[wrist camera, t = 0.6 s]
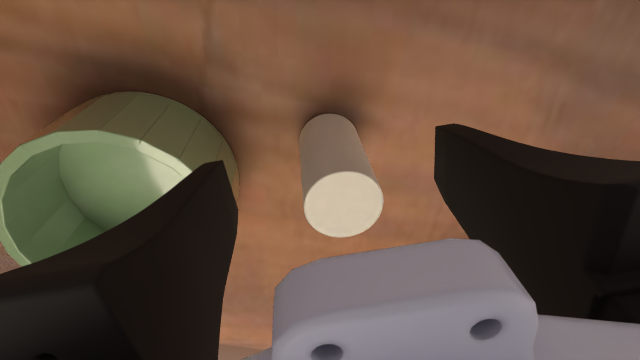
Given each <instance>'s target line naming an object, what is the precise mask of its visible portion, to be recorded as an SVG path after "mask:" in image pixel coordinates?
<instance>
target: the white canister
mask: <svg viewBox="0 0 640 360" xmlns="http://www.w3.org/2000/svg"><path fill="white" fill-rule="evenodd" d="M299 150H300V164H301V178H302V192H303V206H304V213H305V217H306V219H307V221H308V222H309V224H310V225H311V226H312V227H313V228H314V229H316V230H317V231H318V232H320V233H322V234H325V235H327V236H331V237H349V236H353V235H357V234H359V233H361V232H363V231H365V230H367V229H368V228H369V227H371V226H372V225H373V224H374V223H375V222H376V220H377V219H378V218H379V216H380V214H381V211H382V208H383V194H382V191H381V188H380V186H379V183H378V181H377V179H376V176H375V174H374V171H373V169H372V167H371V164H370V162H369V160H368V157H367V155H366V152H365V150H364V148H363V145H362V143H361V140H360V138H359V136H358V133H357V131H356V129H355V127H354V125H353V124H352V123H351V122H350V121H349V120H348V119H347V118H345V117H343V116H341V115H338V114H322V115H319V116H316V117H314V118H313V119H311V120H310V121H309V122H307V124H306V125H305V126H304V127H303V129H302V131H301V133H300V137H299Z"/></svg>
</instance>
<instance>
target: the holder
mask: <svg viewBox="0 0 640 360" xmlns="http://www.w3.org/2000/svg"><path fill="white" fill-rule="evenodd" d="M220 160H223V162H224V165H225V168H226V171H227V175H228V178H229V181H230V185H231V188H232V191H233V194H234V198H235V201H236V204H237V200H238V195H239V186H240V182H239V171H238V166H237V163H236V160H235V157H234V155H233V153H232V151H231V149H230V147H229V145H228V143H227V142H226V141H225V139H224V138H223V136H222V135H221V134H220V133H219V132H218V130H217V129H216V128H215V127H214V126H213V125H212V124H211V123H210V122H208V121H207V120H206V119H205V118H204V117H203V116H201V115H200V114H198V113H197V112H195V111H194V110H192V109H191V108H189V107H187V106H185V105H183V104H181V103H179V102H177V101H174V100H172V99H169V98H166V97H163V96H159V95H156V94H150V93H144V92H129V91H127V92H115V93H110V94H105V95H101V96H98V97H96V98H93V99H90V100H89V101H87V102H85V103H83V104H81V105H79V106H76V107H75V108H73V109H72V110H70V111H69V112H67V113H66V114H64V115H63V116H61V117H60V118H59V119H57V120H56V121H54V122H53V123H51V124H50V125H48V126H47V127H45V128H44V129H42V130H41V131H39V132H38V133H37V134H35V135H34V136H32V137H31V138H29V139H28V140H26V141H25V142H23V143H22V144H20V145H19V146H18V147H17V148H16V149H15V150H14V151H13V152H12V153H11V154H10V155H9V156H8V157H7V158H6V159H4V160H3V161H2V162H1V163H0V242H1V243H2V245H3V247H4V248H5V250H6V252H7V253H8V254H9V255H10V256H11V257H12V258H13V259H14V260H15V261H16V262H17V263H18V264H19V265H21V266H22V267H23V266H25V265H28V264H31V263H34V262H37V261H40V260H43V259H45V258H48V257H50V256H53V255H55V254H58V253H60V252H63V251H65V250H68V249H70V248H72V247H75V246H77V245H79V244H81V243H84V242H86V241H88V240H90V239H92V238H94V237H96V236H98V235H100V234H102V233H104V232H106V231H107V230H109V229H111V228H113V227H115V226H117V225H119V224H121V223H122V222H124V221H126V220H127V219H129V218H131V217H132V216H134V215H136V214H137V213H139V212H140V211H142V210H143V209H145V208H146V207H148V206H149V205H150V204H152V203H153V202H155V201H156V200H157V199H159V198H160V197H161V196H163V195H164V194H165V193H167V192H168V191H169V190H171V189H172V188H173V187H174V186H175V185H177V184H178V183H179V182H180V181H182V180H183V179H184V178H185V177H186V176H188V175H189V174H190V173H191V172H193V171H194V170H195V169H196V168H198V167H199V166H201V165H202V164H204V163H207V162H213V161H220Z"/></svg>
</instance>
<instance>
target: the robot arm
mask: <svg viewBox="0 0 640 360" xmlns="http://www.w3.org/2000/svg"><path fill="white" fill-rule="evenodd" d="M434 180H435V182H436V184H437V186H438V189H439V191H440V193H441V195H442V197H443V199H444V201H445V203H446V204H447V206H448V207H449V209H450V210H451V212H452V213H453V215H454V216H455V218H456V219H457V221H458V222H459V224H460V225H461V227H462V228H463V229H464V231H465V232H466V234H467V235H468V237H469V238H470V239H452V238H450V239H444V240H437V241H431V242H424V243H418V244H412V245H405V246H399V247H392V248H386V249H380V250H373V251H367V252H361V253H354V254H348V255H341V256H335V257H329V258H322V259H319V260H316V261H313V262H311V263H308V264H305V265H303V266H300V267H297V268H294V269H292V270H291V271H290V272H289V273H288V275H287V276H286V277H285V278H284V279H283V280H282V281H281V282H280V283H279V284H278V285H277V286H276V288H275V296H274V307H273V331H272V347H271V348H268V349H266V350H264V351H262V352H259V353H256V354H254V355H252V356H249V357H247V358H244V359H242V360H640V161H627V160H614V159H604V158H596V157H587V156H580V155H573V154H567V153H562V152H556V151H551V150H546V149H542V148H537V147H533V146H530V145H526V144H522V143H518V142H515V141H511V140H508V139H505V138H502V137H498V136H495V135H492V134H489V133H486V132H483V131H480V130H477V129H474V128H471V127H467V126H464V125H459V124H448V125H441V126H436V128H435V166H434ZM237 224H238V207H237V204H236V201H235V198H234V194H233V191H232V188H231V185H230V181H229V178H228V175H227V171H226V168H225V165H224V162H223V160H220V161H213V162H207V163H204V164H202V165H201V166H199V167H198V168H196V169H195V170H194V171H193V172H191V173H190V174H189V175H188V176H186V177H185V178H184V179H183V180H182V181H180V182H179V183H178V184H177V185H175V186H174V187H173V188H172V189H171V190H169V191H168V192H167V193H165V194H164V195H163V196H161V197H160V198H159V199H157V200H156V201H155V202H153V203H152V204H150V205H149V206H148V207H146V208H145V209H143V210H142V211H140V212H139V213H137V214H136V215H134V216H132V217H131V218H129V219H127V220H126V221H124V222H122V223H121V224H119V225H117V226H115V227H113V228H111V229H109V230H107V231H106V232H104V233H102V234H100V235H98V236H96V237H94V238H92V239H90V240H88V241H86V242H84V243H81V244H79V245H77V246H75V247H72V248H70V249H68V250H65V251H63V252H60V253H58V254H55V255H53V256H50V257H48V258H45V259H43V260H40V261H37V262H34V263H31V264H28V265H25V266H23V267H20V268H17V269H14V270H11V271H8V272H5V273H2V274H0V360H218V349H219V336H220V323H221V314H222V304H223V296H224V290H225V285H226V280H227V276H228V272H229V267H230V263H231V258H232V254H233V249H234V245H235V240H236V235H237Z"/></svg>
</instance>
